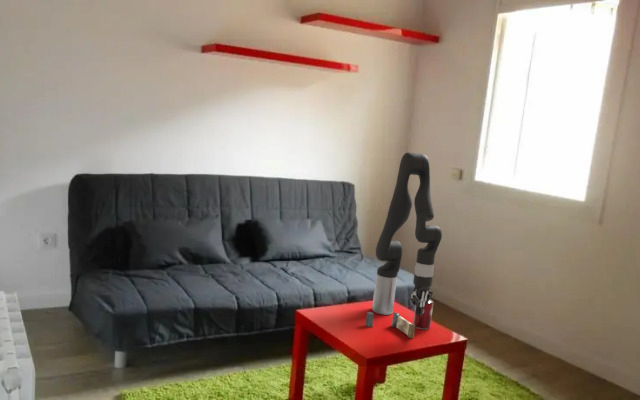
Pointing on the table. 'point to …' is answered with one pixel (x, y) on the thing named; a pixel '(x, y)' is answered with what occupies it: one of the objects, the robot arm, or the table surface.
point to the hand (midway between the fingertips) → (418, 314)
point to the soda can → (424, 316)
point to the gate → (405, 326)
